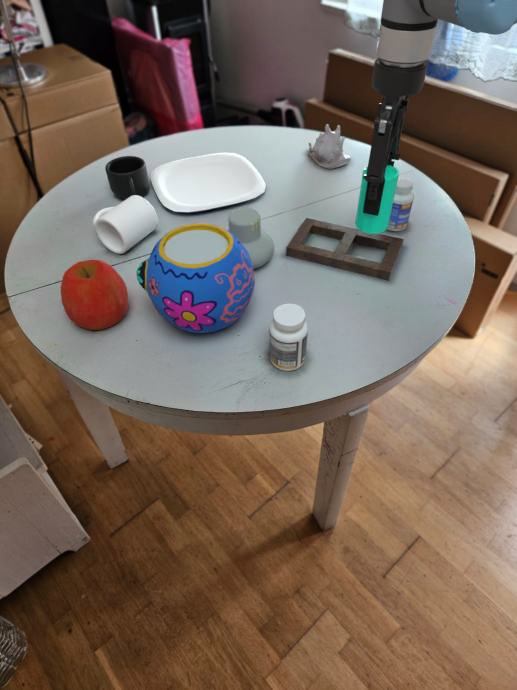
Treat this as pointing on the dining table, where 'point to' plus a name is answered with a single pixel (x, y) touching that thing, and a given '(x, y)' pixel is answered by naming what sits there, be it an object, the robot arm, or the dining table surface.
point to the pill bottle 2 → (401, 205)
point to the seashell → (329, 149)
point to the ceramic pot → (198, 277)
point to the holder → (345, 248)
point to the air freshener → (251, 235)
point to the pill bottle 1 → (288, 337)
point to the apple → (94, 295)
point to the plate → (206, 182)
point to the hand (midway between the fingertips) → (375, 203)
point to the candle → (381, 221)
